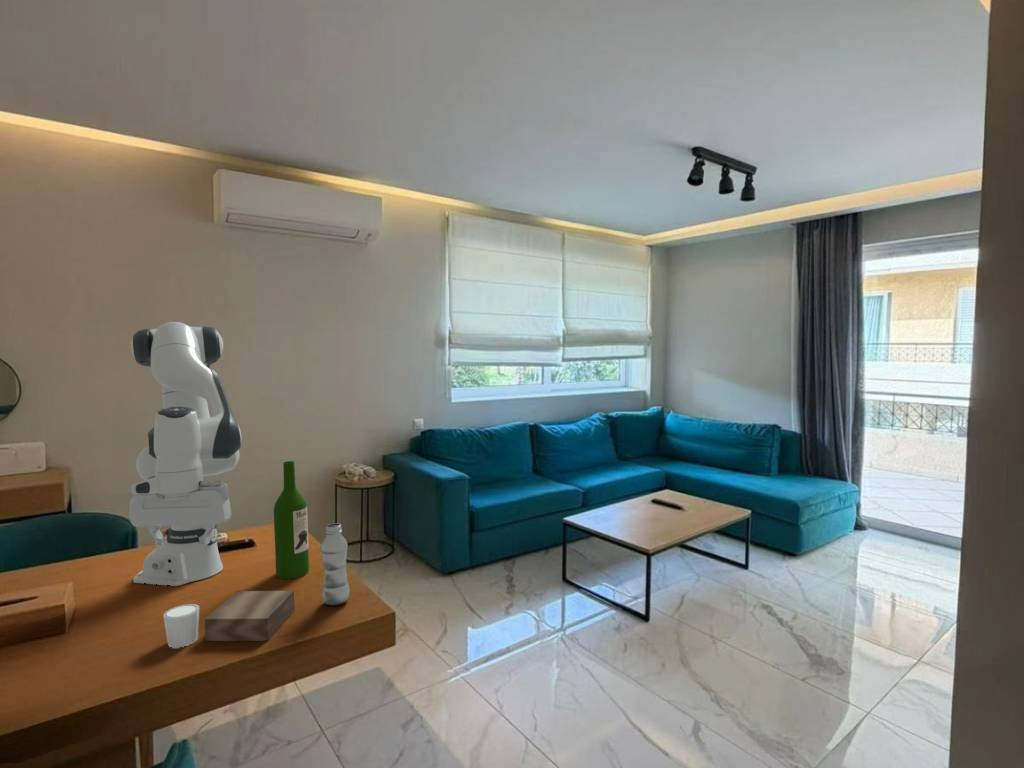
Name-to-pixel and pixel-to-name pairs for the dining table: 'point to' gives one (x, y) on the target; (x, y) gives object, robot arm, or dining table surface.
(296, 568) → the wine bottle
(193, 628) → the white cup
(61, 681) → the dining table surface
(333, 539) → the plastic bottle
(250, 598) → the block
